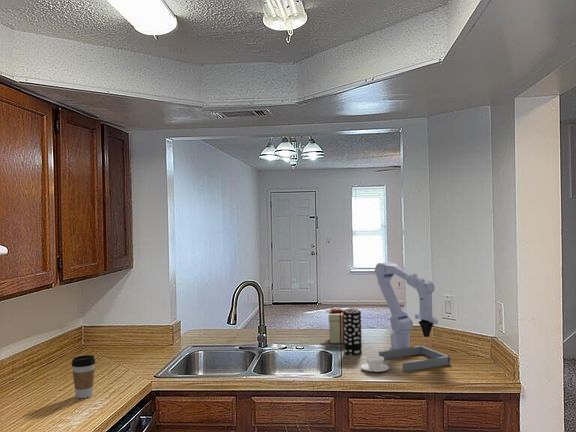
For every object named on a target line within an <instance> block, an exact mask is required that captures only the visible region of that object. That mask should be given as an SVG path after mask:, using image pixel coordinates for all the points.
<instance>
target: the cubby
mask: <svg viewBox="0 0 576 432" xmlns="http://www.w3.org/2000/svg"><path fill="white" fill-rule="evenodd" d="M416 355H423V356H425V357H429V358H426V359H419V360H411V361H405V362H404V361H403V362H402V372H411V371H418V370H419V371H420V370H424V369H431V368H438V367H444V365H445V366H450V365H451V357H450V356H449V355H448V354H447V355H446V354H445V353H442V352H439V351H436V350H434V349H431V348H429V347H426V346H423V345H417V346H410V347H408V348H401V349H393V350H392V349H389V350H386V349H385V350H380V351H378V356H382V357H384V360H388V359H396V358H403V357H408V356H416Z"/></svg>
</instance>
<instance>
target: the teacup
mask: <svg viewBox="0 0 576 432" xmlns="http://www.w3.org/2000/svg"><path fill="white" fill-rule="evenodd" d="M364 361H365V362H366V363H365V362H364ZM384 361H385V359H384V357H382V356H379V355H377V354H375V355H373V354H372V355H367V356H365V357H361V363H362V364H361V366H360V368H361V370H364V371H367V372H373V371H374V372H375V373H376V372H377V373H378V372H386V371H388V370H389V369H390V367H389V365H387V364H385V363H384Z"/></svg>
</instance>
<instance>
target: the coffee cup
mask: <svg viewBox="0 0 576 432" xmlns="http://www.w3.org/2000/svg"><path fill="white" fill-rule="evenodd" d="M71 360H72V361H71V367H72V378H73V385H74V391H75V393H74V394H75V398H76V399H77V398H86V399H88V398H87V397H89V398H91V397H92V396H93V394H94V393H93V392H94V382H95V381H94V379H95V364H96V358H95V355H91V354H87V355H79V356H78V355H77V356H75V357H73V358H72V359H71Z"/></svg>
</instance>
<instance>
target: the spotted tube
mask: <svg viewBox="0 0 576 432" xmlns="http://www.w3.org/2000/svg"><path fill="white" fill-rule="evenodd" d="M362 343H363V342H362V311H360V310H359V309H358V310H347V311H344V343H343V347H344V348H343V349H344V350H343V351H344V354H345V355H347V356H360V355H362V353H363V352H362V351H363V350H362V347H363V345H362Z"/></svg>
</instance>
